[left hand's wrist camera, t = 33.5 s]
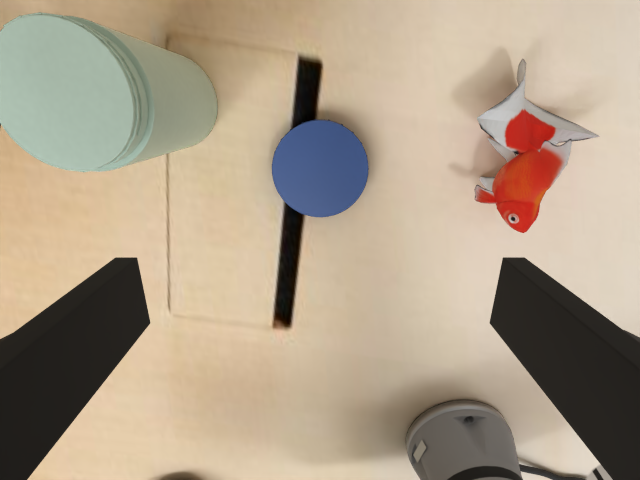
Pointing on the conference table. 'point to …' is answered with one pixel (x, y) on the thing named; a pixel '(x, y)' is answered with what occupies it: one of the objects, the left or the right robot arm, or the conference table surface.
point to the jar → (97, 94)
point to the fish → (525, 154)
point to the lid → (320, 168)
